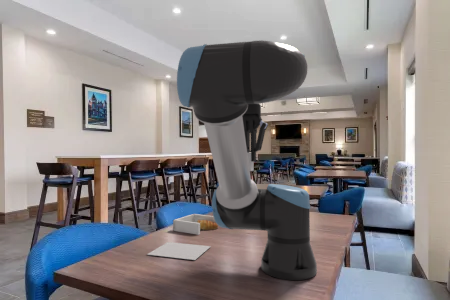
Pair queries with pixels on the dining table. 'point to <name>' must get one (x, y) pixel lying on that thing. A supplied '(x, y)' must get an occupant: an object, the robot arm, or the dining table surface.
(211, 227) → the pastry
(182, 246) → the paper stack
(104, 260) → the dining table surface
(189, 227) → the box
